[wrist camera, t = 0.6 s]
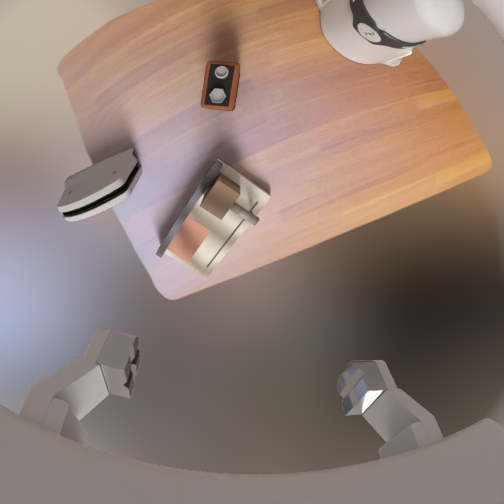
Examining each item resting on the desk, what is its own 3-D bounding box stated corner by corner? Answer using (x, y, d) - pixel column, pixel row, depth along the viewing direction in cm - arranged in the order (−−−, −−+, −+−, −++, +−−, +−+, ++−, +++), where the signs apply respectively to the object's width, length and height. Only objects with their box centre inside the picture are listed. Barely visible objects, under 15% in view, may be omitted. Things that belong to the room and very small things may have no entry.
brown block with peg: (220, 172, 43) (218, 179, 39) (264, 202, 46) (267, 213, 42) (203, 196, 45) (199, 206, 41) (246, 224, 48) (247, 237, 44)
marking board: (217, 158, 44) (216, 161, 40) (270, 194, 47) (272, 200, 44) (160, 245, 51) (155, 254, 48) (207, 273, 54) (206, 283, 51)
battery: (207, 108, 39) (198, 107, 31) (213, 70, 36) (206, 58, 27) (234, 111, 40) (232, 110, 31) (240, 72, 37) (240, 61, 28)
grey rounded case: (134, 146, 41) (119, 177, 35) (145, 167, 45) (133, 201, 38) (65, 178, 43) (45, 211, 36) (77, 196, 46) (59, 229, 40)
